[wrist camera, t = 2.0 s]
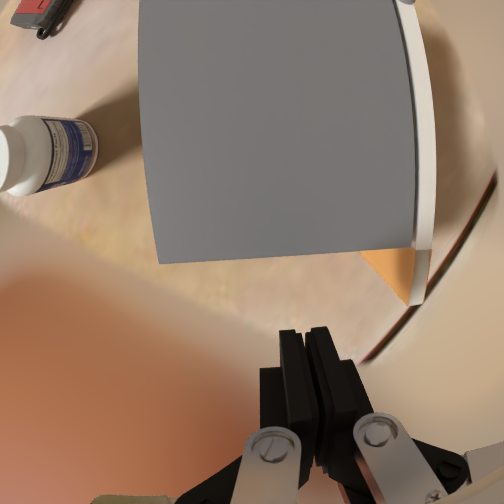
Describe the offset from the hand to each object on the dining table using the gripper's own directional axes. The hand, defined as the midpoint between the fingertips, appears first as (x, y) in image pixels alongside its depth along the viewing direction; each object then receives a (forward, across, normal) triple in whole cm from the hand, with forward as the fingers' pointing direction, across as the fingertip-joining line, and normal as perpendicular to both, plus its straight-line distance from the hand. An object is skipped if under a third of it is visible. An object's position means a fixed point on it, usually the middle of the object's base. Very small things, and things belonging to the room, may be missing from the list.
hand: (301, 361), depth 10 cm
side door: (+13, -7, -8) cm, 17 cm away
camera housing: (+13, 0, -10) cm, 16 cm away
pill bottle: (+13, +16, -10) cm, 23 cm away
